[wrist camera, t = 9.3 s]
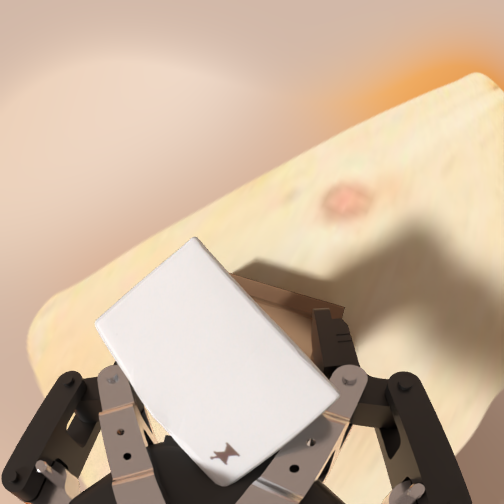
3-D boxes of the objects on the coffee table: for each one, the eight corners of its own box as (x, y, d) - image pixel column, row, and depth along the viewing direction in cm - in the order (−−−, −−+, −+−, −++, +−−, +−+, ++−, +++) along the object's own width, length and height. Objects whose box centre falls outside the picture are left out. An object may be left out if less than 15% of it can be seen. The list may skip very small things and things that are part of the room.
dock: (201, 272, 29) (189, 260, 26) (336, 313, 27) (344, 307, 23) (163, 380, 26) (145, 383, 23) (298, 428, 24) (301, 440, 20)
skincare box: (308, 372, 18) (350, 399, 7) (256, 415, 17) (220, 498, 6) (244, 301, 20) (194, 228, 8) (194, 344, 19) (85, 325, 8)
